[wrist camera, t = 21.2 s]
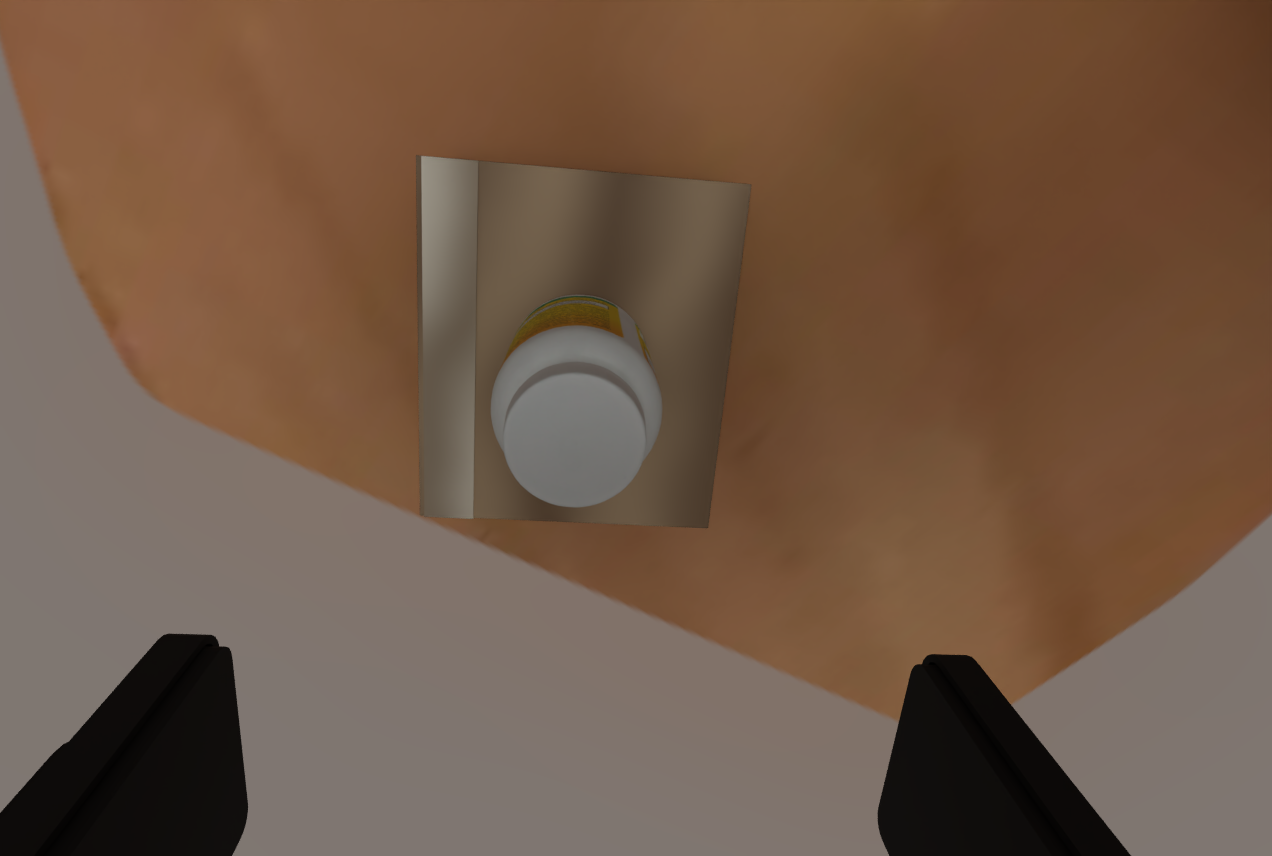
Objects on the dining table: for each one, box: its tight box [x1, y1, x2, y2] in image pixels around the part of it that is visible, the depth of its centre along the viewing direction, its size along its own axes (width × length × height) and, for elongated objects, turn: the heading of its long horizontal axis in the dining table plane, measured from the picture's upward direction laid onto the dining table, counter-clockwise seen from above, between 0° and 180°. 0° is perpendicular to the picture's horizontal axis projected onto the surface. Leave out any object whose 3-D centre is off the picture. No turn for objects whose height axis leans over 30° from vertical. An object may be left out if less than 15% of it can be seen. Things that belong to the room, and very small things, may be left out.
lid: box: [416, 155, 751, 528], centre depth 30 cm, size 12×14×1 cm
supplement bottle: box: [491, 295, 662, 508], centre depth 25 cm, size 5×5×10 cm
